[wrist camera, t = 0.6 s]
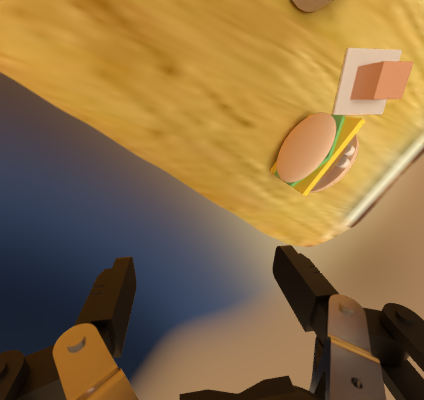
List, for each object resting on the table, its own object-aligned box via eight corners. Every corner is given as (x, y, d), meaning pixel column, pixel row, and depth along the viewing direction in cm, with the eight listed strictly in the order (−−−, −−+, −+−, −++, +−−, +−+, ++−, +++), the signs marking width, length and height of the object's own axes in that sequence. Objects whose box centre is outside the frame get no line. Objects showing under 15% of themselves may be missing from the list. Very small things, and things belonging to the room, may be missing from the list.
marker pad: (346, 48, 34) (348, 47, 34) (399, 50, 36) (402, 49, 35) (331, 114, 38) (333, 114, 38) (380, 114, 40) (382, 114, 39)
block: (357, 66, 35) (384, 61, 31) (384, 67, 36) (413, 61, 31) (349, 99, 37) (373, 98, 33) (374, 99, 38) (401, 98, 33)
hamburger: (291, 184, 43) (329, 211, 32) (260, 165, 40) (291, 187, 30) (331, 132, 40) (388, 142, 29) (300, 107, 37) (351, 108, 26)
